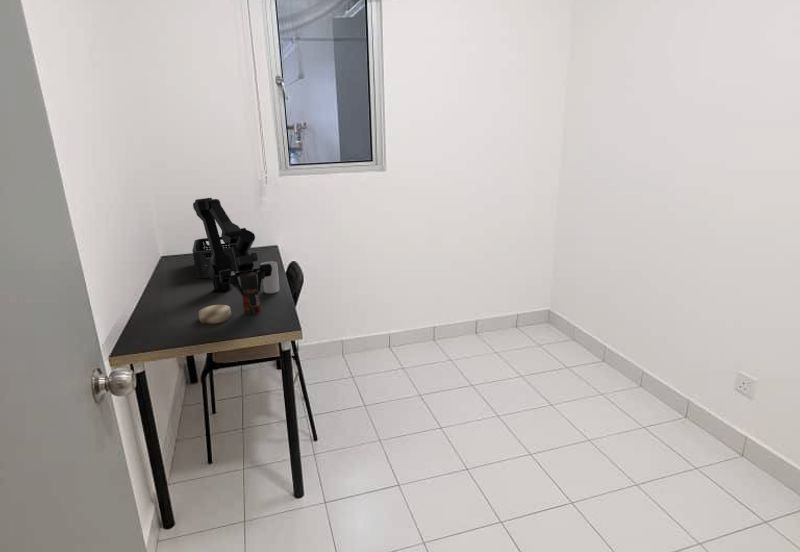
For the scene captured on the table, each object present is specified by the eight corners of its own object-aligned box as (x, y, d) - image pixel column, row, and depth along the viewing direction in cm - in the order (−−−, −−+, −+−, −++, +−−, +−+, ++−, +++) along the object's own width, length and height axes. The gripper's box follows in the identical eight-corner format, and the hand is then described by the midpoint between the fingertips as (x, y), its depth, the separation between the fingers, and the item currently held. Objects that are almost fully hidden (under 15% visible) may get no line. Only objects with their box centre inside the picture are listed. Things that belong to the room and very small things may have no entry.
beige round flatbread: (194, 323, 176) (193, 316, 175) (207, 312, 187) (206, 304, 186) (224, 323, 175) (223, 316, 174) (235, 312, 186) (234, 304, 185)
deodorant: (247, 309, 188) (242, 271, 184) (262, 309, 188) (258, 271, 183) (242, 315, 183) (237, 276, 178) (258, 315, 182) (253, 276, 178)
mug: (279, 293, 205) (276, 265, 201) (262, 294, 204) (259, 266, 200) (281, 285, 214) (278, 258, 211) (265, 286, 213) (262, 259, 210)
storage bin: (198, 263, 251) (194, 238, 246) (238, 259, 256) (235, 234, 252) (196, 280, 225) (191, 252, 221) (240, 275, 231) (236, 247, 227)
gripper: (216, 249, 177) (224, 287, 171) (268, 242, 185) (278, 278, 179) (216, 265, 186) (224, 301, 180) (266, 257, 194) (275, 292, 188)
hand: (250, 293), depth 182 cm, fingers closed on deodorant, 6 cm apart
